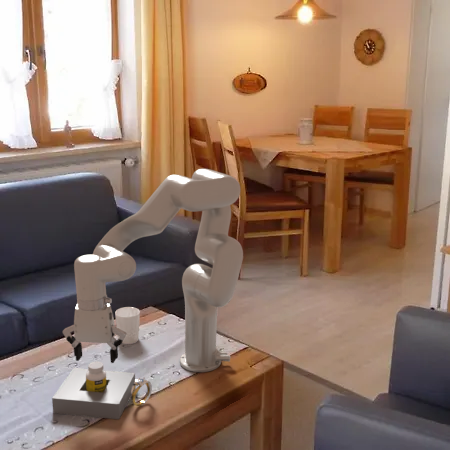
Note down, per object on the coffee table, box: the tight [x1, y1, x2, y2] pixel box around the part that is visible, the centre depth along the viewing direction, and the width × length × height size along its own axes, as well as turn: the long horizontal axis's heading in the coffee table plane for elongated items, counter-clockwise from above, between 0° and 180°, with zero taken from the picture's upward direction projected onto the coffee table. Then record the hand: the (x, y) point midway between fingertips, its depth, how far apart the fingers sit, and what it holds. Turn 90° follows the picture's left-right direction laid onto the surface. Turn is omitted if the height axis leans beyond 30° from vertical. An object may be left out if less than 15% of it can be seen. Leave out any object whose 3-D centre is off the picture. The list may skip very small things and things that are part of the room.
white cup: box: [114, 306, 141, 345], centre depth 207 cm, size 8×8×10 cm
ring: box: [130, 377, 153, 407], centre depth 171 cm, size 7×3×8 cm, turn 137°
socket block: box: [51, 367, 136, 420], centre depth 173 cm, size 18×16×4 cm
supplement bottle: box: [86, 361, 106, 393], centre depth 172 cm, size 5×5×10 cm
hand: (96, 359), depth 171 cm, fingers open, 9 cm apart
